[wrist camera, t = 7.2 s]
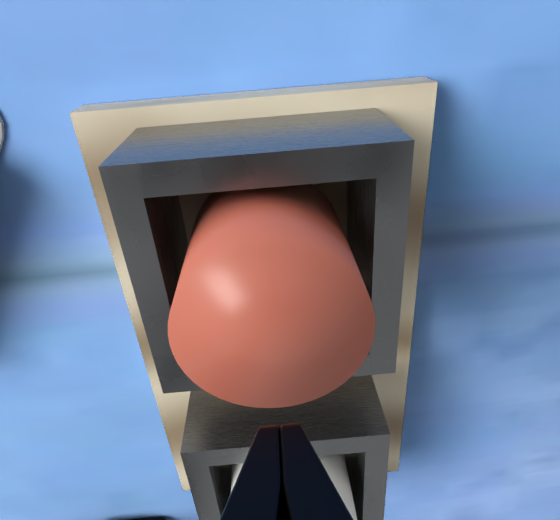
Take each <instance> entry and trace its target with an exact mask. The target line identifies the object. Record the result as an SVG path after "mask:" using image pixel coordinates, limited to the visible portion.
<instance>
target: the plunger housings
mask: <svg viewBox="0 0 560 520" xmlns="http://www.w3.org/2000/svg"><path fill="white" fill-rule="evenodd" d="M414 141H415V140H414V139H413V138H412V137H410V136H409V135H408V134H407V133H405V132H404V131H403V130H402V129H400V128H399V127H398V126H397V125H396V124H394V123H393V122H392V121H391V120H389V119H388V118H387V117H386V116H385V115H383V114H382V113H381V112H380V111H378V110H377V109H376V108H366V109H354V110H343V111H331V112H319V113H307V114H295V115H283V116H271V117H260V118H248V119H236V120H224V121H212V122H200V123H188V124H176V125H165V126H153V127H141V128H136V129H135V130H134V131H133V132H132V133H131V134H130V135H129V136H128V137H127V138H126V139H125V140H124V141H123V142H122V143H121V144H120V145H119V146H118V147H117V148H116V149H115V150H114V151H113V152H112V153H111V154H110V155H109V156H108V157H107V158H106V159H105V160H104V162H103V163H102V164H101V165H100V166H99V167H98V168H99V172H100V175H101V179H102V182H103V186H104V189H105V192H106V196H107V199H108V203H109V206H110V210H111V213H112V217H113V220H114V224H115V227H116V231H117V234H118V238H119V241H120V245H121V248H122V252H123V255H124V259H125V262H126V266H127V269H128V273H129V276H130V280H131V283H132V287H133V290H134V294H135V297H136V301H137V304H138V308H139V311H140V315H141V318H142V322H143V325H144V329H145V332H146V336H147V339H148V343H149V346H150V350H151V353H152V357H153V360H154V364H155V367H156V371H157V374H158V377H159V381H160V384H161V388H162V391H163V394H164V393H176V392H187V391H190V397H189V403H188V409H187V415H186V421H185V427H184V433H183V439H182V445H181V451H180V454H181V458H182V461H183V465H184V468H185V472H186V475H187V479H188V482H189V486H190V489H191V493H192V496H193V500H194V503H195V507H196V510H197V514H198V517H199V520H220V518H221V516H222V513H223V511H224V508H225V506H226V504H227V501H228V499H229V497H230V494H231V474H232V464H240V463H244V461H245V458H246V456H247V454H248V451H249V449H250V446H251V444H252V442H253V439H254V437H255V435H256V432H257V430H258V428H259V427H261V426H268V425H277V426H279V429H280V426H281V425H282V424H291V423H298V424H300V425H301V427H302V428H303V430H304V432H305V434H306V435H307V437H308V439H309V441H310V443H311V444H312V446H313V448H314V450H315V452H316V453H317V455H318V456H328V455H339V454H346V458H345V462H346V467H347V472H348V477H349V482H350V487H351V491H352V496H353V501H354V506H355V511H356V516H357V520H383V518H384V506H385V494H386V482H387V470H388V457H389V445H390V431H389V428H388V425H387V422H386V419H385V416H384V412H383V409H382V406H381V403H380V400H379V397H378V394H377V391H376V387H375V384H374V381H373V378H372V375H377V374H388V373H395V372H396V360H397V348H398V336H399V324H400V311H401V299H402V287H403V275H404V263H405V250H406V238H407V226H408V214H409V202H410V190H411V177H412V165H413V153H414ZM340 181H347V241H348V244H349V246H350V249H351V251H352V254H353V256H354V259H355V261H356V264H357V266H358V269H359V271H360V274H361V276H362V279H363V281H364V284H365V286H366V289H367V291H368V294H369V296H370V299H371V302H372V304H373V308H374V313H375V334H374V339H373V343H372V346H371V349H370V351H369V353H368V355H367V357H366V359H365V360H364V362H363V363H362V365H361V366H360V368H359V369H358V370H357V371H356V372H355V373H354V375H352V376H351V377H350V378H349V379H348V380H347V381H346V382H345V383H343V384H342V385H341V386H339V387H338V388H336V389H335V390H333V391H331V392H330V393H328V394H326V395H324V396H322V397H320V398H317V399H315V400H312V401H309V402H306V403H303V404H298V405H294V406H288V407H281V408H255V407H248V406H242V405H238V404H234V403H231V402H228V401H225V400H222V399H220V398H218V397H216V396H214V395H211V394H210V393H208V392H206V391H205V390H203V389H202V388H200V387H199V386H198V385H196V384H195V383H194V382H193V381H192V380H191V379H190V378H189V377H188V376H187V375H186V374H185V373H184V372H183V370H182V369H181V368H180V366H179V365H178V363H177V361H176V360H175V358H174V356H173V353H172V350H171V348H170V344H169V338H168V319H169V313H170V309H171V306H172V302H173V299H174V295H175V291H176V288H177V284H178V281H179V277H180V274H181V270H182V266H183V263H184V259H185V256H186V252H187V249H188V240H187V235H186V230H185V225H184V220H183V215H182V210H181V205H180V200H179V195H188V194H200V193H211V192H223V191H235V190H246V189H258V188H270V187H281V186H293V185H305V184H316V183H328V182H340Z"/></svg>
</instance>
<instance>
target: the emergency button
mask: <svg viewBox="0 0 560 520" xmlns="http://www.w3.org/2000/svg"><path fill="white" fill-rule="evenodd" d="M3 141H4V122H3V120H2V118H1V116H0V153H1V149H2V145H3Z"/></svg>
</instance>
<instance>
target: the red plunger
mask: <svg viewBox="0 0 560 520" xmlns="http://www.w3.org/2000/svg"><path fill="white" fill-rule="evenodd" d="M374 334H375V313H374V308H373V304H372V302H371V299H370V296H369V294H368V291H367V289H366V286H365V284H364V281H363V279H362V276H361V274H360V271H359V269H358V266H357V264H356V261H355V259H354V256H353V254H352V251H351V249H350V246H349V244H348V241H347V239H346V237H345V234H344V232H343V229H342V227H341V224H340V222H339V219H338V217H337V214H336V212H335V209H334V208H333V206H332V204H331V202H330V201H329V200H328V199H327V197H326V196H325V195H324V194H323V193H322V192H321V191H320V190H319V189H318V188H317V187H315V186H314V185H312V184H305V185H293V186H281V187H270V188H258V189H246V190H235V191H223V192H213V193H212V194H211V195H210V196H209V197H208V198H207V199H206V201H205V202H204V204H203V205H202V207H201V209H200V210H199V212H198V215H197V217H196V220H195V224H194V227H193V231H192V234H191V238H190V241H189V245H188V249H187V252H186V256H185V259H184V263H183V266H182V270H181V274H180V277H179V281H178V284H177V288H176V291H175V295H174V299H173V302H172V306H171V309H170V313H169V319H168V338H169V344H170V348H171V350H172V353H173V356H174V358H175V360H176V361H177V363H178V365H179V366H180V368H181V369H182V370H183V372H184V373H185V374H186V375H187V376H188V377H189V378H190V379H191V380H192V381H193V382H194V383H195V384H196V385H198V386H199V387H200V388H202V389H203V390H205V391H206V392H208V393H210V394H211V395H214V396H216V397H218V398H220V399H222V400H225V401H228V402H231V403H234V404H238V405H242V406H248V407H255V408H281V407H288V406H294V405H298V404H303V403H306V402H309V401H312V400H315V399H317V398H320V397H322V396H324V395H326V394H328V393H330V392H331V391H333V390H335V389H336V388H338V387H339V386H341V385H342V384H343V383H345V382H346V381H347V380H348V379H349V378H350V377H351V376H352V375H354V373H355V372H356V371H357V370H358V369H359V368H360V366H361V365H362V363H363V362H364V360H365V359H366V357H367V355H368V353H369V351H370V349H371V346H372V343H373V339H374Z"/></svg>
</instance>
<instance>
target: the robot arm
mask: <svg viewBox="0 0 560 520" xmlns="http://www.w3.org/2000/svg"><path fill="white" fill-rule="evenodd" d="M141 520H165V519H163V518H152V519H141ZM220 520H353V518H352V516H351V514H350V513H349V511H348V509H347V507H346V505H345V504H344V502H343V500H342V498H341V496H340V495H339V493H338V491H337V489H336V487H335V486H334V484H333V482H332V480H331V478H330V477H329V475H328V473H327V471H326V470H325V468H324V466H323V464H322V462H321V461H320V459H319V457H318V455H317V453H316V452H315V450H314V448H313V446H312V444H311V443H310V441H309V439H308V437H307V435H306V434H305V432H304V430H303V428H302V427H301V425H300V424H298V423H291V424H282V425H281V426H280V429H279V426H277V425H268V426H261V427H259V428H258V430H257V432H256V435H255V437H254V439H253V442H252V444H251V446H250V449H249V451H248V454H247V456H246V458H245V461H244V463H243V466H242V468H241V470H240V473H239V475H238V477H237V480H236V482H235V485H234V487H233V489H232V492H231V494H230V497H229V499H228V501H227V504H226V506H225V508H224V511H223V513H222V516H221V518H220Z"/></svg>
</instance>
